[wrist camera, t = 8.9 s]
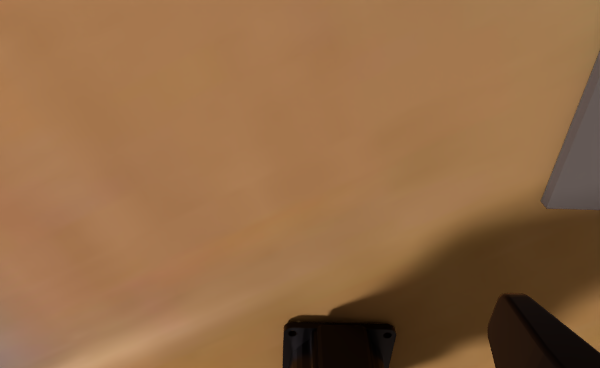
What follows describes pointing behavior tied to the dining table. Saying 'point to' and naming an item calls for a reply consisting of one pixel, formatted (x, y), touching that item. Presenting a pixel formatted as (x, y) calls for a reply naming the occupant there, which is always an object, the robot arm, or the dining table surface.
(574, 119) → the mat
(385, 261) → the dining table surface
